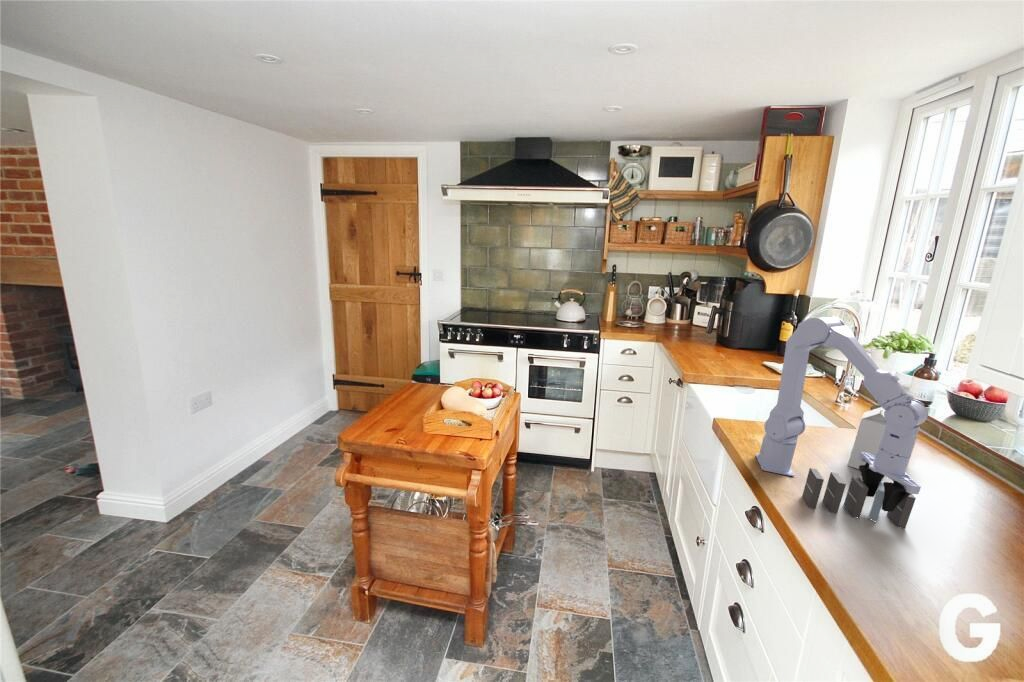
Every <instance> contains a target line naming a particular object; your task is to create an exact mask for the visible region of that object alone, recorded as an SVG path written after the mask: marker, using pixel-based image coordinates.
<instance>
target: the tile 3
mask: <svg viewBox="0 0 1024 682" xmlns="http://www.w3.org/2000/svg"><path fill="white" fill-rule="evenodd" d="M868 489H869V488H868V487H867V486H866V485H865V484H864V482H863V480H862V478H861V477H859V476H853V475H852V476H851V478H850V482H849V486H848V489H847V493H846V495H845V499H844V502H843V506H844V505H845V506H844V508H845V507H846V508H847V509H846V508H845V509H846V511H847V510H848V511H847V512H848V513H849V515H850V514H851V515H850V516H851V517H852V518H854V517H858V518H857V519H860V518H861V515H862V511H863V507H864V505H865V502H866V499H867V493H868Z"/></svg>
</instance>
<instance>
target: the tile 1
mask: <svg viewBox="0 0 1024 682" xmlns="http://www.w3.org/2000/svg"><path fill="white" fill-rule="evenodd" d="M806 477H807V478H806V480H805V485H804V488H803V492H802V495H801V496H802V499H803V501H804V502H805V504H806V505H807V507H808V508H810V509H813V510H816V509H817V507H818V506H817V505H818V503H819V499H820V495H821V492H822V488H823V484H824V481H825V479H824V478H823V476H822V475H821V473H820V472H819V470H818V469H817V468H812V467H809V470H808V474H807V476H806Z"/></svg>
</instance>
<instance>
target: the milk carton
mask: <svg viewBox="0 0 1024 682" xmlns="http://www.w3.org/2000/svg"><path fill="white" fill-rule="evenodd" d="M884 411H886V410H884V409H883V408H882V407H880V408H877V409H874V410H871V409H870V410H867V411H865V412H863V414H862V416H861V419H860V421H859V426H858V429H857V432H856V436H855V439H854V443H853V446H852V450H851V453H850V456H849V460H848V463H847V466H848V467H851V468H853V469H855V470H859V466H860V465H865V464H866V462H863V461H861V460H859V457H860V453H861V452H863V453H870V454H871V455H873V456H876V453H877V450H878V447H879V444H880V440H881V437H882V434H883V431H884V428H885V426H886V423H887V421H886V420H885V417H884Z"/></svg>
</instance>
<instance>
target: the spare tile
mask: <svg viewBox="0 0 1024 682" xmlns="http://www.w3.org/2000/svg"><path fill="white" fill-rule="evenodd" d="M883 483H884V482H882V481H881V482H880V483H879V486H878V489H877V491H876V494H875V495H874V499H873V502H872V505H871V509H870V511H869V515H868V518H869V519H872V520H874V521H878V519H879V515H880V513H881V510H882V504H883V500H884V484H883ZM869 519H868V520H869ZM874 521H873V522H874Z"/></svg>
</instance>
